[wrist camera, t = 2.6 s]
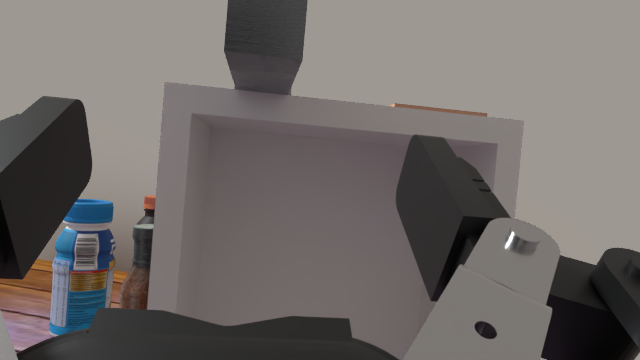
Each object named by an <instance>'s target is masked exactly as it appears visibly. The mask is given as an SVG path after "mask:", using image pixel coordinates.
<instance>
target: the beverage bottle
mask: <svg viewBox="0 0 640 360" xmlns="http://www.w3.org/2000/svg"><path fill="white" fill-rule="evenodd" d="M112 216H113V203H112V202H110V201H104V200H93V199H77V200H76V202H75V203H74V205H73V206H72V208H71V209H70V211H69V212H68V214H67V215H66V217H65V218H64V219H63V222H64V223H66V224H68V225H67V227H66V228H65V229H64V230H63V231H62V233H61V234H60V235H59V237H58V239H57V241H56V244H55V249H56V251H57V255H56V257H55V258H54V260H53V265H52V268H53V283H52V299H51V314H50V324H49V332H50V334H51V335H52V336H53V337H56V336H58V335H61V334H65V333H68V332H72V331H76V330H80V329H86V328H89V327H90V325H91V323H92V321H93V319H94V316H95V314H96V312H97V310H98V308H110V306H111V294H112V282H113V270H114V268H115V258H114V256H113V250H114V249H115V247H116V245H115V240H114V237H113V235H112V233H111V231H110V230H109V228H108V227H107V225H108V224H111V221H112V218H113V217H112Z"/></svg>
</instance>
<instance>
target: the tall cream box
mask: <svg viewBox="0 0 640 360" xmlns="http://www.w3.org/2000/svg"><path fill="white" fill-rule="evenodd" d="M523 126H524V121H522V120H512V119H504V118H494V117H487V113H477V112H469V111H460V110H450V109H441V108H432V107H422V106H413V105H405V104H392V105H390V106H383V105H374V104H365V103H355V102H346V101H336V100H327V99H318V98H308V97H299V96H290V95H281V94H272V93H263V92H253V91H244V90H235V89H225V88H215V87H207V86H198V85H188V84H179V83H170V82H165V85H164V98H163V111H162V124H161V137H160V150H159V163H158V175H157V188H156V201H155V214H154V227H153V240H152V253H151V266H150V279H149V291H148V304H147V310H164V311H168V312H172V313H176V314H179V315H183V316H187V317H191V318H195V319H199V320H203V321H206V322H210V323H214V324H218V325H223V326H234V325H240V324H246V323H252V322H258V321H264V320H270V319H276V318H282V317H287V316H305V317H328V318H349V320H350V326H351V333H352V338H355V339H359V340H362V341H365V342H367V343H370V344H372V345H375V346H377V347H379V348H381V349H383V350H385V351H387V352H388V353H390V354H391V355H393V356H394V357H396V358H398V359H399V360H403V358H404V356H405V355H406V353H407V351H408V350H409V348H410V346H411V345H412V343H413V341H414V340H415V338H416V336H417V335H418V333H419V331H420V330H421V328H422V326H423V325H424V323H425V321H426V320H427V318H428V316H429V315H430V313H431V311H432V310H433V308H434V306H435V305H436V303H437V302H435V301H430V298H429V295H428V293H427V290H426V287H425V284H424V282H423V279H422V276H421V274H420V271H419V268H418V265H417V263H416V260H415V257H414V254H413V252H412V249H411V246H410V243H409V241H408V238H407V235H406V233H405V230H404V227H403V224H402V222H401V219H400V216H399V213H398V211H397V207H396V190H397V185H398V181H399V178H400V174H401V170H402V167H403V163H404V160H405V156H406V152H407V149H408V145H409V142H410V140H411V138H412V136H413V135H415V134H417V135H427V136H436V137H443V138H445V140H446V141H447V143H448V144H449V146H450V147H451V149H452V150H453V152H454V153H455V155H456V156H457V157H461V158H463V159H464V160H465V161H467V162H468V163H469V164H471V165H472V166H473V167H475V168H476V169H477V171H478V172H479V173H480V175H481V176H482V178H483V179H484V182H486V183H487V185H488V186H489V187H490V189H491V192H493V193H494V194H495V196H496V197H497V199H498V200H499V201H500V203H501V204H502V206H503V207H504V208H505V210H506V211H507V213H508V214H509V216H510V217H511V218H513V219H515V209H516V197H517V188H518V177H519V167H520V156H521V147H522V136H523Z"/></svg>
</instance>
